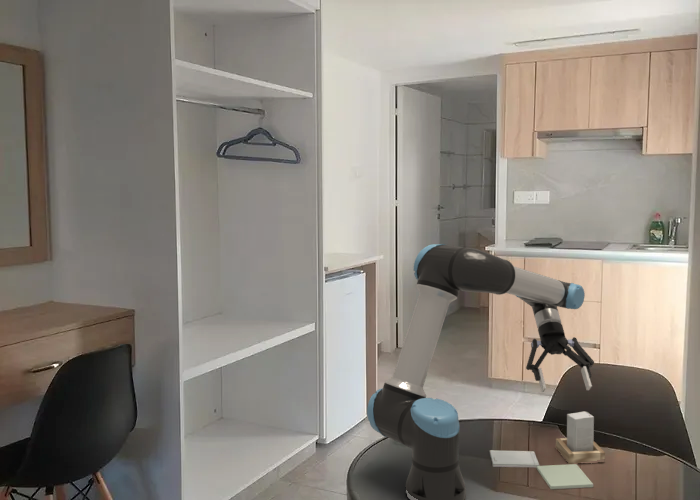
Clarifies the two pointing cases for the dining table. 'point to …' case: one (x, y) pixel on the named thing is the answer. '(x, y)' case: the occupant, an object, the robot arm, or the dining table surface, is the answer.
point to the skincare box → (580, 431)
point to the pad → (564, 476)
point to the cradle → (579, 456)
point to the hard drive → (513, 458)
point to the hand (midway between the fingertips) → (566, 389)
